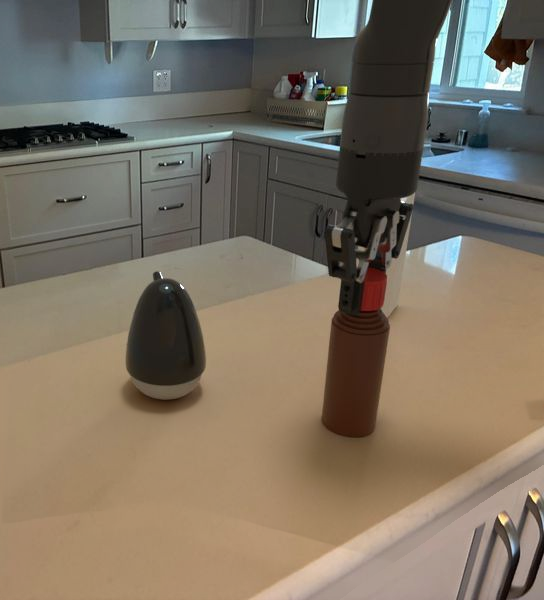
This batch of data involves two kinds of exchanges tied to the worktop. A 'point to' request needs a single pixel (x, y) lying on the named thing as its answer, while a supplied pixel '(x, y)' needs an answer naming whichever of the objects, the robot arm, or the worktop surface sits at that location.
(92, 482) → the worktop surface
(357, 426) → the bottle
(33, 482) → the worktop surface
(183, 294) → the dark grey egg-shaped piece
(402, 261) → the milk
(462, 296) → the worktop surface
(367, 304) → the cap
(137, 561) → the worktop surface
